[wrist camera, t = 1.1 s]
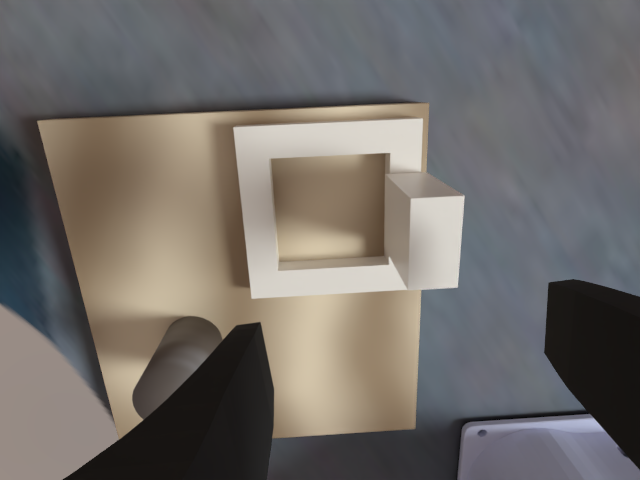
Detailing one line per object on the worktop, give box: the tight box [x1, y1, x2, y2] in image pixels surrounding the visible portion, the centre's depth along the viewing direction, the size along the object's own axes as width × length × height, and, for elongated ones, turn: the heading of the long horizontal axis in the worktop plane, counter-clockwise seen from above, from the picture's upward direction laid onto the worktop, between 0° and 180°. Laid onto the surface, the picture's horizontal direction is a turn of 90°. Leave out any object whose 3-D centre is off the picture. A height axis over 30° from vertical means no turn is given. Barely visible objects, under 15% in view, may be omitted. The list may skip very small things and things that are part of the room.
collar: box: [233, 117, 464, 299], centre depth 15 cm, size 7×7×5 cm
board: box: [37, 102, 429, 439], centre depth 17 cm, size 15×16×6 cm
